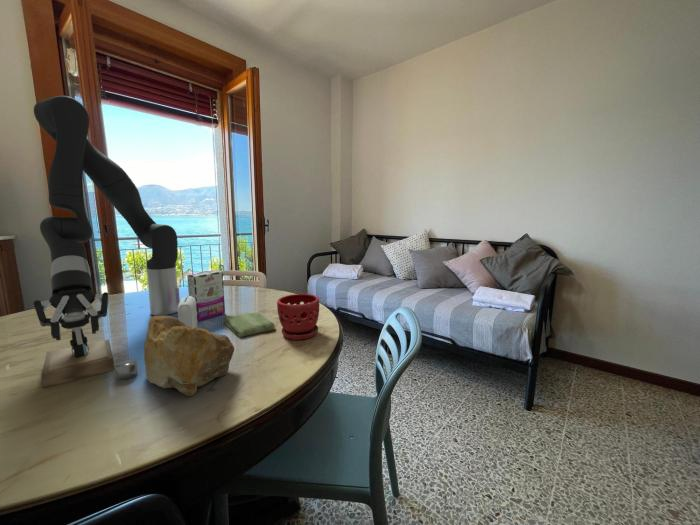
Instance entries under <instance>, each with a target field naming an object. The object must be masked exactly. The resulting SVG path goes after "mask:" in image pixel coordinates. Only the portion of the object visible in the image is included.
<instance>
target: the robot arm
mask: <svg viewBox="0 0 700 525" xmlns="http://www.w3.org/2000/svg"><path fill="white" fill-rule="evenodd" d="M33 115H34V117H35V119H36V121H37V123H38V125H40V126H41V128H42V129H43V130H44V131H45V132H46V133H47V134H48V135H49V137H51V138H52V139H53V140H54V141H55V143H56V144H55V150H54V155H53V159H52V161H51V164H50V167H49V171H48V178H47V180H48V181H47V182H48V183H47V188H48V203H49V205H50V206H51V207H54V208H56V209H60V210H65V211H68V212H71V213H72V214H73V216H74V217H67V216H66V217H65V216H47V217H45V218H43V219H42V221H40V223H39V224H40V225H39V230H40V234H41V236H42V238H43V239H44V241H45V242H46V245H47V246H48V248H49V251H50V260H51V266H50V281H51V282H50V286H51V295H50V296H51V297H50V298H49V299H48V300H42V301H41V300H34V301H33V306H34V310H35V312H36V315H37V319H38V321H39V324H40V326H41V327H43V328H44V327H47V326H48V327H50V334H51V338H52V339H55V340H56V341H61V340H62V337H61V335H62V334H61V325H60V322H59V321H60V320H61V319H63V318H64V315H66V314H69V313H73V312H84V314H87V315H90V318H89V319H90V325H91V326H90V327H91V333H92V335H94V334H97V332H99V330H100V326H99V325H100V324H99V320H100V319H101V318H105V317H107V316H108V310H109V309H108V308H109V297H110V296H109V293H108V292H106V291H105V292H103V293H98V294H97V293H95V292H94V291H93V283H92V277H91V276H92V274H91V268H90V265H89V263H88V254H87V249H86V246H85V245H84V244H82V243H87V242H88V241H90V240H91V239H92V237H93V228H92V225H91V223H90V220H89V218H88V215H87V212H86V210H85V204H84V184H83V182H84V180H83V179H84V178H83V177H84V175H83V174H86V176H87V177H88V178H89V179H90V180H91V182H92V183H93V184H94V185H95V187H96V188H97V189H98V190H99V192H101V193H102V196H104V198H106V200H107V201H109V203H110V204H111V205H112V206H113V207H114V208H115V211H117V212H118V214H120V215H121V217H122V218H123V219H124V220H125V221H126V223H127V224H128V225H129V226H130V229H132V231H133V232H134V234H135V236H136V237H137V238H138V240H139V241H140V242H141V244H142V245H143V246H145V247H146V248H149V249H151V258H149V259H148V260H146V275H147V284H148V285H147V287H148V299H149V311H150V315H152V316H168V315H172V314H175V313H178V305H179V303H180V301H181V300H180V288H179V286H178V277H177V267H176V266H177V261H178V255H179V254H178V253H179V250H178V249H179V247H178V244H179V241H178V236H177V235H178V234H177V232H176V229H174V228H173V227H172V226H171V225H168V224H162V223H161V224H160V223H156V222H155V220H154V219H153V218H152V217H151V216H150V215H149V213H148V212H147V211H146V209H145V208H144V205H143V201H142V198H141V194H140V191H139V190H138V188H137V186H136V184H135V183H134V182H133V180H132V179H131V177H130V176H129V174H128V173H127V172H126V171H125V170H124V169H123V168H122V167H121V166H120V165H118V163H116V162H115V161H114V160H112V159H111V158H109V157H108V156H107V155H105V154H104V153H103V152H101V151H100V150H99V149H98V148H96V147H95V146H94V145H93V143H92V142H90V140H89V139H88V134H89V129H90V122H91V121H90V115H89V112H88V110H87V109H86V107H85V106H84V105H83V104H82V102H80V101H79V100H77V99H76V98H73V97H70V96H68V95H57V96H52V97H49V98H46V99H43V100H40V101H38V102H36V104H34V106H33ZM95 300H97V301H98V303H100V304H101V305H100V309H99V310H98V311H97V310H96V309H95V308H94V307H93V305H92V304H93V303H94V301H95ZM49 306H51V307H53V308H54V309H55V310H54V313H53V315H52V317H49V318H48V317H47V316H46V313H45V311H47V310H48V309H49Z"/></svg>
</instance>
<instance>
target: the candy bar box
mask: <svg viewBox="0 0 700 525" xmlns="http://www.w3.org/2000/svg"><path fill="white" fill-rule="evenodd" d="M223 272H224V271H220V270H210V271H209V270H208V271H204V272H198V273H192V274H188V275H187V277H186V278H187V291H188V296H192V297H194V298H195V300H196V310H197V323H199V322H201V321H206V320H208V319H212V318H216V317H218V316H220V315H225V314H226V305H225V304H226V302H225V291H224V288H225V287H224V275H223Z"/></svg>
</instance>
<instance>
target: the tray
mask: <svg viewBox="0 0 700 525" xmlns="http://www.w3.org/2000/svg"><path fill="white" fill-rule="evenodd" d="M87 344H88V347H89V351H88V347H87V346H86V350H87V355H85V356H81V357H78V358H76V357H75V353H74V350H71V348H72V346H69V347H65V348H59V349H55V350H49V351H46V354H45V359H44V362H43V367H42V371H41V380H42V381H41V382H42V388H43V389H46V388H49V387H52V386H56V385H57V386H58V385H61V384H65V383H69V382H72V381H76V380H80V379H83V378H88V377H92V376H95V375H100V374H103V373H106V372H112V371H114V370H115V363H114V356H113V351H112V347H111V342H110V339H104V340H100V341H95V342H94V341H93V342H90V343H87ZM72 351H73V355H72Z"/></svg>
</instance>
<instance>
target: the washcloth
mask: <svg viewBox="0 0 700 525" xmlns="http://www.w3.org/2000/svg"><path fill="white" fill-rule="evenodd" d="M223 324H224V325H225V326H226V327H228V328H229V330H230V331H231V332H233V334H235V335H236V336H238V337H237V338H242V337H247V336H253V335H255V334H260V333H267V332H270V331H271V332H272V331H274V330H275V323H274V322H273V321H272V320H270V319H268V318H267V317H266V316H264V314H262V312H256V311H255V312H247V313H244V312H243V313H238V314H236V315H226V316H225V318H224V323H223Z"/></svg>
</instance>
